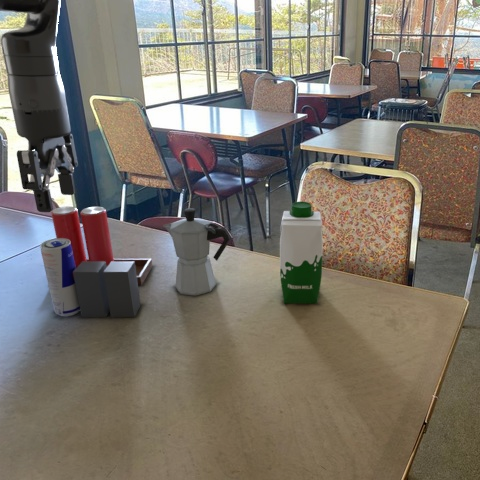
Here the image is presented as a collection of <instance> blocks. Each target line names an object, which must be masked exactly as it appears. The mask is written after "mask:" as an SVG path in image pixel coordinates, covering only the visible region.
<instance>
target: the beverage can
mask: <svg viewBox="0 0 480 480" xmlns="http://www.w3.org/2000/svg"><path fill="white" fill-rule="evenodd" d="M39 248H40V254H41V259H42V263H43V266H44V272H45V275H46V279H47V284H48V289H49V294H50V298H51V303H52V306H53V311H54V313H55V314H56V315H58V316H61V317H72V316H75V315H77V314H78V313H79V312H81V310H80V305H79V300H78V295H77V290H76V285H75V280H74V275H73V271H74V270H75V269H76V267H75V262H74V256H73V251H72V246H71V244H70V240H68V239H65V238H56V237H55V238H52V239H48V240H45V241H43V242H41V243H40V245H39Z"/></svg>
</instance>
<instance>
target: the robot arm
mask: <svg viewBox="0 0 480 480" xmlns="http://www.w3.org/2000/svg"><path fill="white" fill-rule="evenodd" d="M60 8H61V0H0V12H5V13H23V14H26V18H25V22H24V25H23V26H22V27H21V28H18V29H14V30H10V31H6V32H4V33H3V34H2V35H1V37H0V46H1V51H2V56H3V61H4V65H5V71H6V75H7V77H6V78H7V90H8V95H9V100H10V105H11V110H12V114H13V119H14V124H15V129H16V133H17V135H18V136H19V137H20V138H24V139H26V141H27V143H28V145H27V147H28V148H27V149H25V150H21V149H20V150H17V151H16V158H17V164H18V170H19V176H20V181H21V187H22V190H25V191H26V190H27V191H28V190H29V191H30V190H31V191H32V192H33V196H34V202H35V205H36V211H37V212H39V213H51V212H52V211H53V210H54V206H53V205H54V204H53V199H52V195H51V189H50V182H51V178H53V177H54V176H55V171H56V172H57V178H58V183H59V189H60V194H61V195H63V196H73V195H75V193H76V187H75V181H74V177H73V176H74V175H73V174H74V172H75V168H77V167H79V162H78V157H77V151H76V145H75V141H74V135H73V133H71V131H72V130H71V123H70V117H69V110H68V104H67V99H66V92H65V87H64V83H63V80H62V77H61V74H60V67H59V60H58V56H57V55H58V54H57V53H58V52H57V46H56V45H57V34H58V24H59V23H58V22H59V16H60ZM29 175H30V177H29Z"/></svg>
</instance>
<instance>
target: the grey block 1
mask: <svg viewBox="0 0 480 480" xmlns="http://www.w3.org/2000/svg"><path fill="white" fill-rule="evenodd" d="M106 268H107V265H106V261H82V262H81V264H80V265H79V266H78V267H77V268H76V269H75V270H74V271H73V275H74V280H75V285H76V290H77V295H78V300H79V305H80V314H81V318H106V317H107V316H108V314H110V309H109V303H108V297H107V292H106V286H105V280H104V274H103V272H104V270H105V269H106Z"/></svg>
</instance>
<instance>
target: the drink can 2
mask: <svg viewBox="0 0 480 480" xmlns="http://www.w3.org/2000/svg"><path fill="white" fill-rule="evenodd" d="M80 219H81V224H82V231H83V235H84V241H85V247H86V252H87V258H88V259H89V261H106V265H107V266H108V265H109V264H110V262H111V261H114V259H115V258H114V252H113V246H112V239H111V235H110V234H111V233H110V227H109V221H108V215H107V210H106V208H105V207H103V206H90V207H86V208H85V207H84V208H83V209H82V210H81V211H80Z"/></svg>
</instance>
